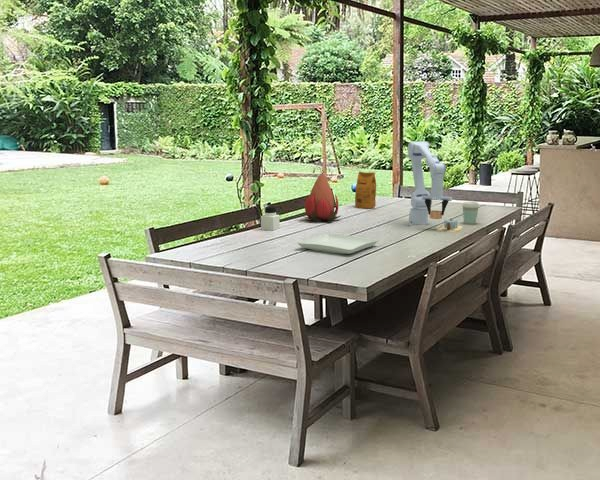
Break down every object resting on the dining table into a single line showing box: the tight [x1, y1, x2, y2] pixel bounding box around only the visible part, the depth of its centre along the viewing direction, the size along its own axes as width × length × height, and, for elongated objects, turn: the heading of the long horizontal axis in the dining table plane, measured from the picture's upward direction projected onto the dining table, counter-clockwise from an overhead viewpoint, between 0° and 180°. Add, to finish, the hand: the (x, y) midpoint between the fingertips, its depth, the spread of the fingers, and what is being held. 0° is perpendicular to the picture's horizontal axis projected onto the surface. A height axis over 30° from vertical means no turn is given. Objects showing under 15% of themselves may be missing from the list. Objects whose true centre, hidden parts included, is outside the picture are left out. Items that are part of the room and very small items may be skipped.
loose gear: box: [429, 209, 443, 220], centre depth 349 cm, size 6×6×4 cm
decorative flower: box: [303, 164, 342, 223], centre depth 380 cm, size 22×23×30 cm
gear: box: [443, 217, 458, 229], centre depth 356 cm, size 6×6×4 cm
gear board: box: [435, 223, 464, 233], centre depth 354 cm, size 11×18×4 cm, turn 159°
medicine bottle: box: [260, 204, 281, 232], centre depth 354 cm, size 7×7×12 cm
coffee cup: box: [462, 201, 480, 226], centre depth 367 cm, size 9×8×12 cm
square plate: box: [296, 233, 379, 255], centre depth 311 cm, size 27×27×4 cm
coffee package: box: [354, 171, 377, 210], centre depth 426 cm, size 10×12×22 cm
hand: (436, 214), depth 349 cm, fingers closed on loose gear, 6 cm apart
